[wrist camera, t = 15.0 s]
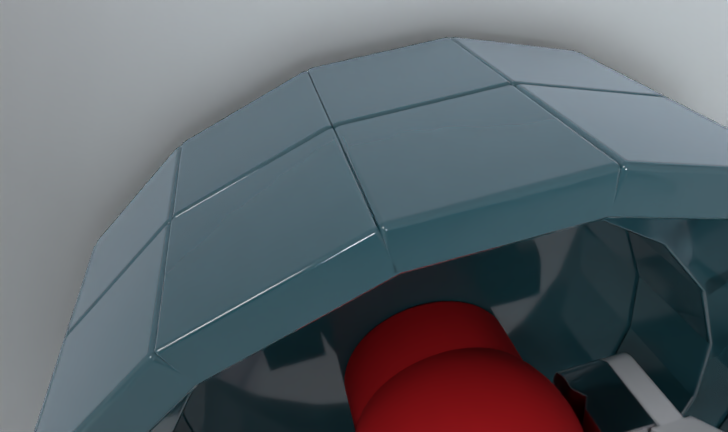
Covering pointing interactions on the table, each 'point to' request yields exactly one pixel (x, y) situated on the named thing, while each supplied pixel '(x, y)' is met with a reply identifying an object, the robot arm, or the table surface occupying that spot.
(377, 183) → the bowl
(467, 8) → the table surface
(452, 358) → the strawberry
